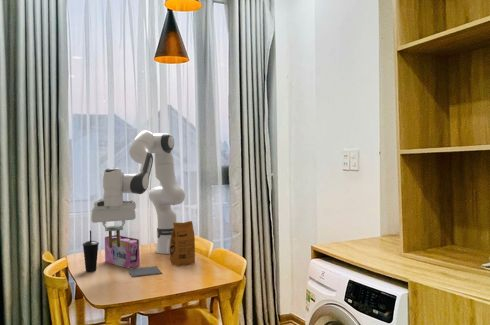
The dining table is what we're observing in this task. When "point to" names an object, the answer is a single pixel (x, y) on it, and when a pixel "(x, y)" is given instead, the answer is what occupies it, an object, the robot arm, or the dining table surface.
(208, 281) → the dining table surface
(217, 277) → the dining table surface
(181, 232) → the coffee package
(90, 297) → the dining table surface
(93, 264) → the drinking cup
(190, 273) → the dining table surface
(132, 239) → the gum box
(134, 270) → the mat
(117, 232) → the stool
